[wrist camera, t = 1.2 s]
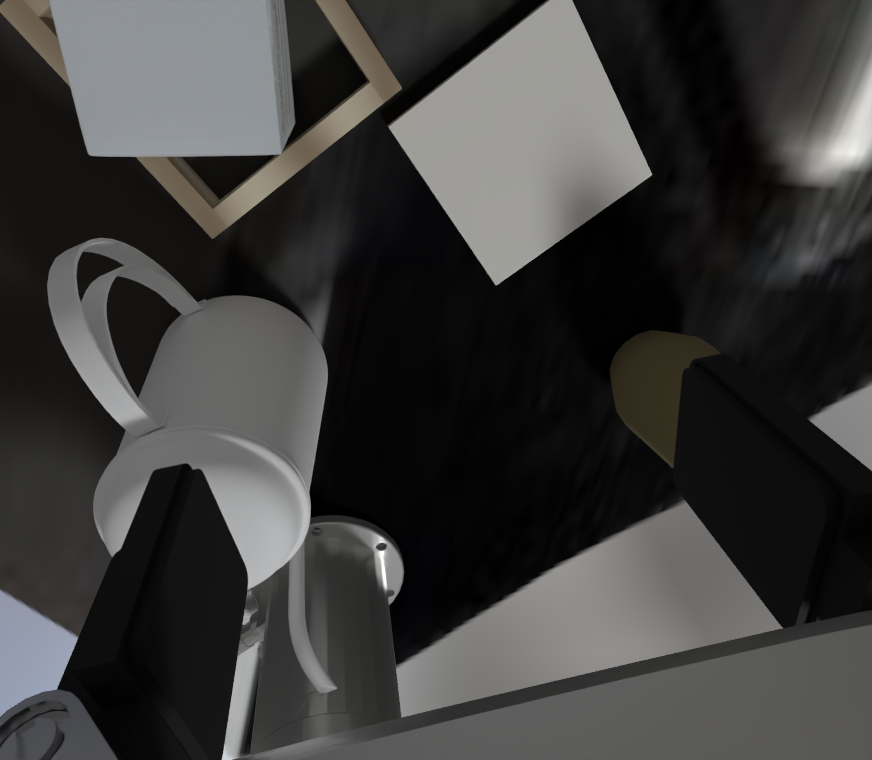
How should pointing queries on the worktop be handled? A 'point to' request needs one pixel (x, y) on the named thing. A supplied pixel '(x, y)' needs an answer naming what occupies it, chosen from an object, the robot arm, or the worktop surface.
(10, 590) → the worktop surface
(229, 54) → the supplement box
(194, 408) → the coffeepot
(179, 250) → the worktop surface
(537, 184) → the tile
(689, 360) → the squeeze bottle
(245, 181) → the wooden frame
